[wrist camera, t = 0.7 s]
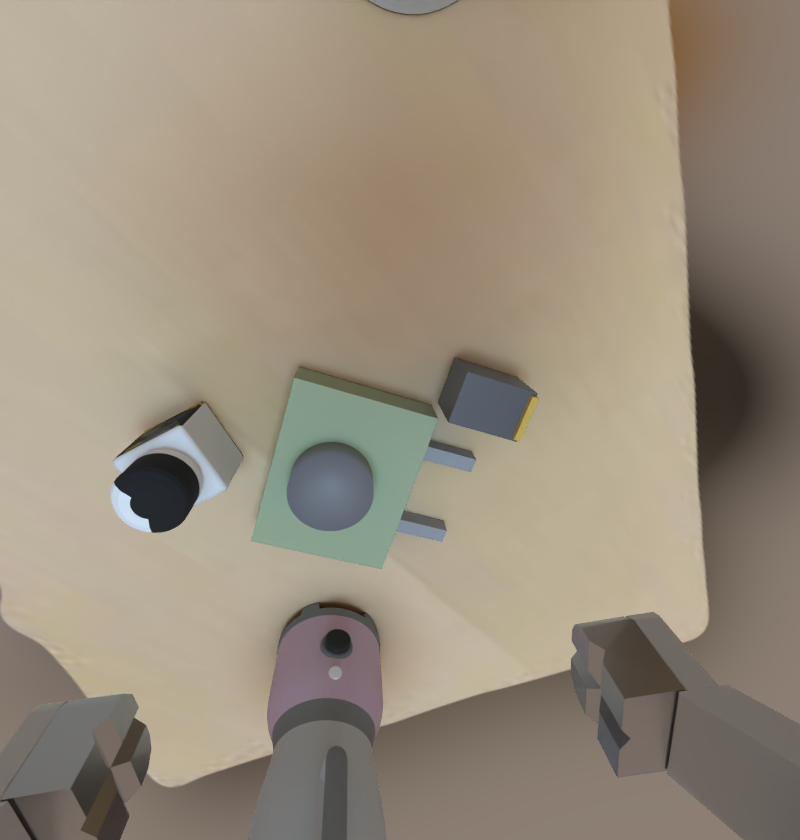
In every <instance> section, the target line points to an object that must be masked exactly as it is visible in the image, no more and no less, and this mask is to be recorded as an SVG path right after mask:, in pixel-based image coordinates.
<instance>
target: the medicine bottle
mask: <svg viewBox="0 0 800 840" xmlns="http://www.w3.org/2000/svg"><path fill="white" fill-rule="evenodd" d="M242 459H243V456H242V454H241V453H240V451H239V450H238V448H237V447H236V446H235V444H234V443H233V441H232V440H231V438H230V437H229V436H228V434H227V433H226V431H225V430H224V428H223V427H222V426H221V424H220V423H219V421H218V420H217V418H216V417H215V416H214V414H213V413H212V411H211V410H210V408H209V407H208V406H207V404H206V403H204V402H201V403H199V404H197V405H195V406H193V407H191V408H189V409H188V410H186V411H184V412H182V413H180V414H178V415H176V416H174V417H172V418H170V419H168V420H166V421H165V422H163V423H161V424H159V425H157V426H155V427H153V428H151V429H149V430H147V431H145V432H144V433H143V434H142V435H141V436H140V437H139V438H137V439H136V440H135V441H134V442H133V443H132V444H131V445H130V446H128V447H127V448H126V449H125V450H124V451H123V452H122V453H120V454H119V455H118V456H117V457H116V458H115V459H114V460H113V465H114V466H115V467H116V468H117V470H118V471H119V472H120V473H121V474H120V475H119V476H118V477H117V478H116V480H115V481H114V483H113V485H112V488H111V494H110V497H111V503H112V506H113V508H114V510H115V512H116V513H117V515H118V516H119V517H120V518H121V519H122V520H123V521H124V522H125V523H126V524H128V525H129V526H131V527H133V528H135V529H138V530H141V531H145V532H153V533H156V532H165V531H169V530H171V529H174V528H175V527H177V526H179V525H180V524H181V523H182V522H183V521H184V520H185V518H186V517H187V515H188V514H189V512H190V510H191V509H192V507H193V506H195V505H197V504H199V503H201V502H203V501H205V500H207V499H209V498H211V497H213V496H215V495H217V494H219V493H221V492H223V491H225V490H226V489H227V488H228V486H229V484H230V482H231V480H232V478H233V476H234V474H235V473H236V471H237V469H238V467H239V465H240V463H241V461H242Z"/></svg>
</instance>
